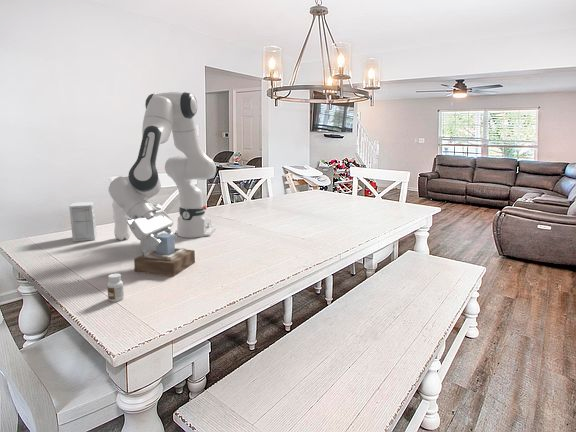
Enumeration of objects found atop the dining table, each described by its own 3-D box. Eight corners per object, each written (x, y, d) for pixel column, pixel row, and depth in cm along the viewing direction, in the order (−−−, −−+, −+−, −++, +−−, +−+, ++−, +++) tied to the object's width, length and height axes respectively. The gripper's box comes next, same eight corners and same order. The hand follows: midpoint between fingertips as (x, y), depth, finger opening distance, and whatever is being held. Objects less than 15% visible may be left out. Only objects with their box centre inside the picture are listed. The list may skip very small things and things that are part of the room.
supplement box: (97, 235, 187) (94, 201, 184) (95, 240, 179) (92, 205, 175) (75, 236, 184) (71, 202, 180) (72, 241, 175) (68, 205, 172)
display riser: (159, 258, 156) (158, 243, 155) (194, 262, 152) (194, 247, 151) (134, 271, 141) (133, 255, 139) (173, 276, 137) (173, 260, 136)
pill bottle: (105, 299, 117) (103, 275, 116) (119, 294, 121) (117, 271, 119) (112, 303, 115) (111, 279, 113) (126, 298, 118) (125, 275, 116)
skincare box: (153, 248, 168) (152, 222, 166) (158, 250, 166) (157, 224, 163) (140, 251, 164) (139, 224, 161) (145, 254, 161) (144, 226, 158)
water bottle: (131, 240, 180) (127, 187, 175) (114, 241, 178) (110, 188, 172) (131, 236, 187) (127, 185, 181) (115, 237, 184) (111, 186, 179)
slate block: (163, 251, 148) (162, 233, 147) (174, 253, 147) (174, 234, 146) (156, 255, 144) (155, 236, 142) (168, 256, 142) (167, 237, 141)
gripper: (129, 213, 133) (155, 243, 133) (161, 203, 153) (184, 229, 153) (119, 225, 135) (145, 254, 135) (152, 213, 155) (175, 239, 155)
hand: (166, 241), depth 144 cm, fingers open, 8 cm apart
